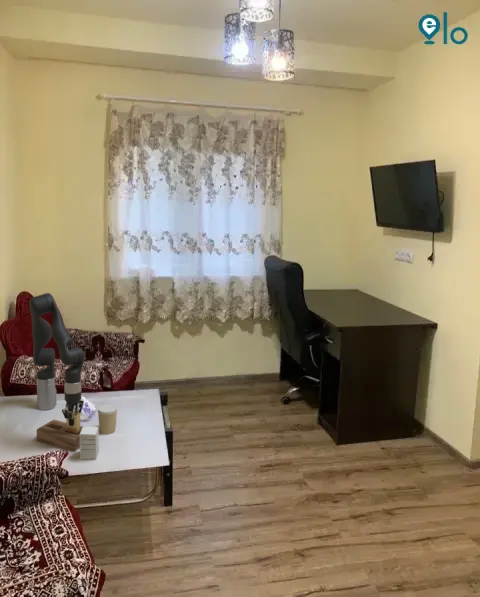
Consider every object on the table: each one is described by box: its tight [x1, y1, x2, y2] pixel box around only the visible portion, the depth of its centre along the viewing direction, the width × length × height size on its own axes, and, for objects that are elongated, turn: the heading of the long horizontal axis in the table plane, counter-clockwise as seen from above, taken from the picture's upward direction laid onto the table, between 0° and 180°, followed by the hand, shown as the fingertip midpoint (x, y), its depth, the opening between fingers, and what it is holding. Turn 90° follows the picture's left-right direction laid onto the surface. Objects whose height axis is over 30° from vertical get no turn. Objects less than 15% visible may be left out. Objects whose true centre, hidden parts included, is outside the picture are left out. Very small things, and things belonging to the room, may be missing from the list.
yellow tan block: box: [65, 411, 81, 434], centre depth 246 cm, size 2×6×10 cm, turn 69°
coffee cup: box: [97, 404, 118, 435], centre depth 261 cm, size 9×9×12 cm
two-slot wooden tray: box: [36, 419, 84, 452], centre depth 249 cm, size 12×22×6 cm, turn 69°
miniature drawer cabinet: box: [79, 426, 100, 461], centre depth 237 cm, size 7×7×13 cm
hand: (73, 424), depth 246 cm, fingers closed on yellow tan block, 2 cm apart
